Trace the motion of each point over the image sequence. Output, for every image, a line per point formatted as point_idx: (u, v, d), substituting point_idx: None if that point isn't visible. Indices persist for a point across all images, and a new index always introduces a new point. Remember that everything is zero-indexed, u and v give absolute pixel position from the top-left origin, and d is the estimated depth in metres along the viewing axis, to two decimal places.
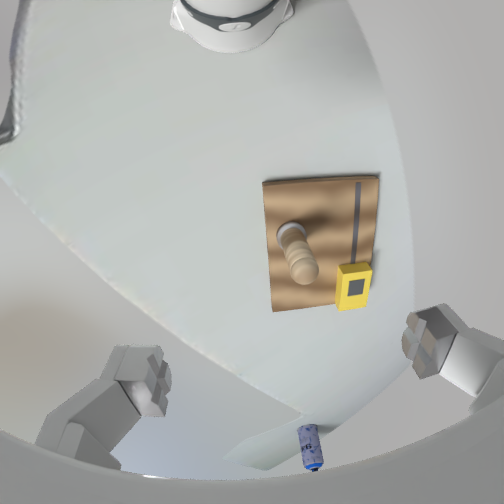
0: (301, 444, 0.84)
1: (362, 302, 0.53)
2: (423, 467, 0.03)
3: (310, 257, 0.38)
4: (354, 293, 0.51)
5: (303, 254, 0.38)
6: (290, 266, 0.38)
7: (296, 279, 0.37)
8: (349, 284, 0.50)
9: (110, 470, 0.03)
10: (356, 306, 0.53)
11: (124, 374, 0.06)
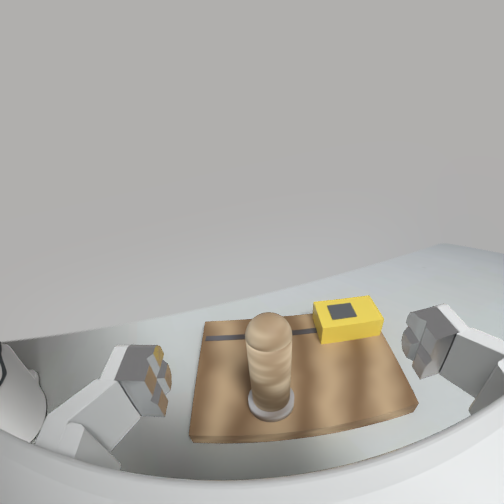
0: None
1: (363, 299, 0.39)
2: (423, 467, 0.03)
3: None
4: (352, 311, 0.37)
5: None
6: (262, 354, 0.22)
7: (274, 334, 0.21)
8: (338, 319, 0.36)
9: (110, 470, 0.03)
10: (371, 303, 0.38)
11: (124, 374, 0.06)
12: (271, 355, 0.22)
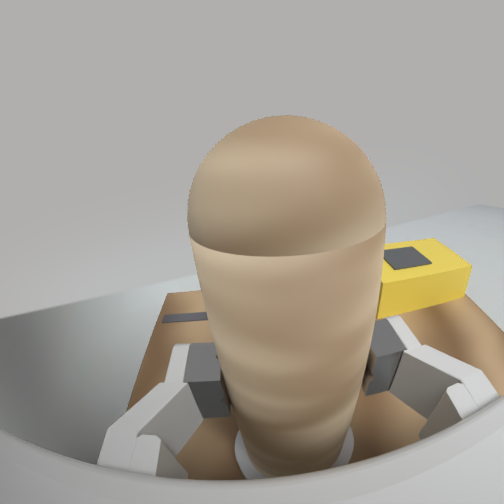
0: None
1: (429, 243, 0.22)
2: (423, 467, 0.03)
3: None
4: (419, 257, 0.20)
5: None
6: (264, 277, 0.04)
7: (321, 150, 0.04)
8: (404, 268, 0.18)
9: (110, 470, 0.03)
10: (442, 247, 0.21)
11: (194, 374, 0.06)
12: (312, 282, 0.04)
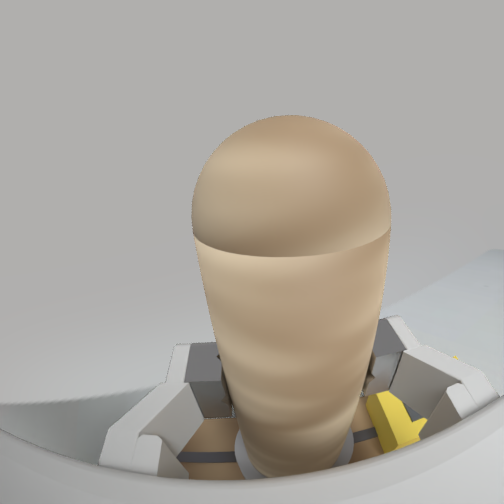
0: None
1: None
2: (423, 467, 0.03)
3: None
4: None
5: None
6: (270, 278, 0.04)
7: (328, 150, 0.04)
8: (421, 417, 0.15)
9: (110, 470, 0.03)
10: None
11: (195, 374, 0.06)
12: (318, 282, 0.04)
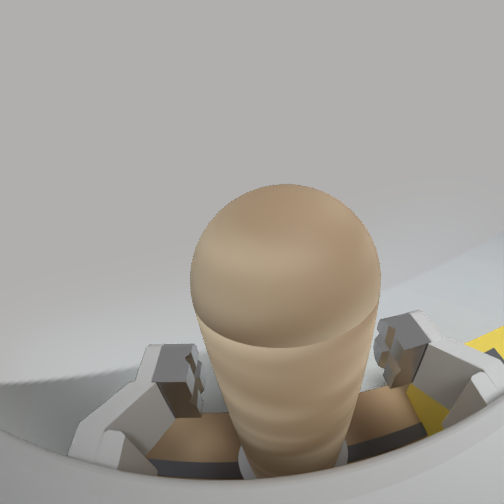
0: None
1: None
2: (423, 467, 0.03)
3: None
4: None
5: None
6: (263, 360, 0.04)
7: (320, 246, 0.04)
8: None
9: (110, 470, 0.03)
10: None
11: (162, 375, 0.06)
12: (305, 363, 0.04)
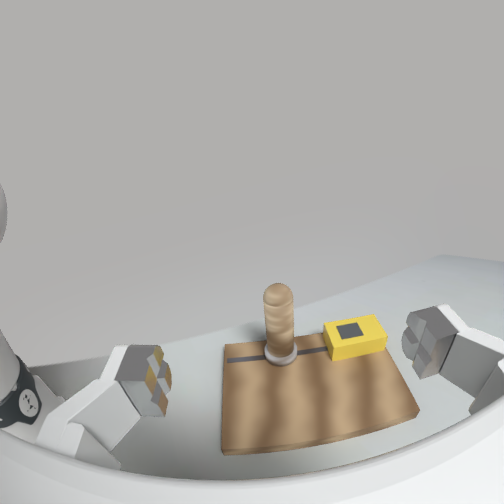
0: None
1: (368, 318, 0.42)
2: (423, 467, 0.03)
3: None
4: (358, 330, 0.40)
5: None
6: (274, 308, 0.36)
7: (282, 294, 0.35)
8: (347, 338, 0.39)
9: (110, 470, 0.03)
10: (375, 322, 0.41)
11: (124, 374, 0.06)
12: (280, 309, 0.36)
